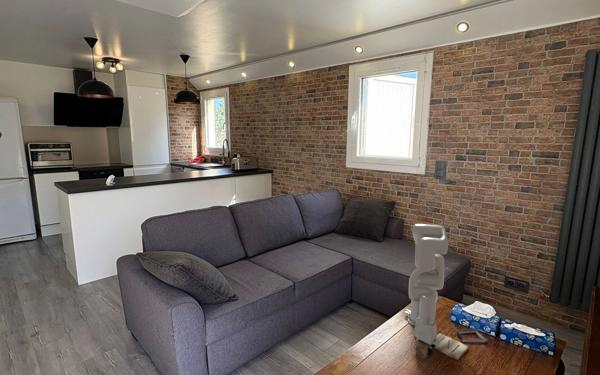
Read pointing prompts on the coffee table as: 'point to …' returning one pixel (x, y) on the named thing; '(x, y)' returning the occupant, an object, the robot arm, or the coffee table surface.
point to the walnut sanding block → (422, 348)
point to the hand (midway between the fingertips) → (424, 351)
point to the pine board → (450, 346)
